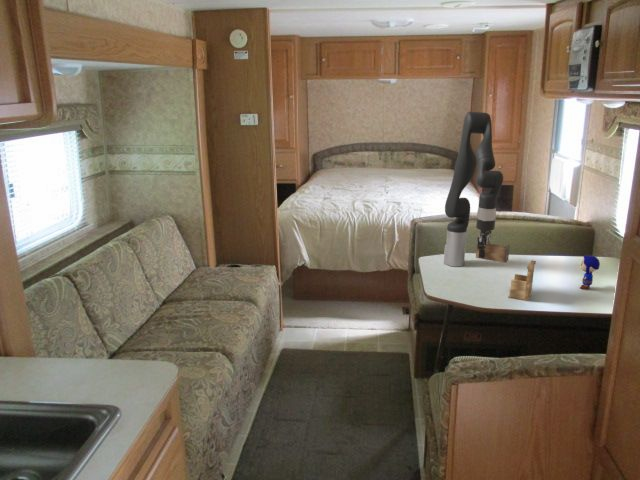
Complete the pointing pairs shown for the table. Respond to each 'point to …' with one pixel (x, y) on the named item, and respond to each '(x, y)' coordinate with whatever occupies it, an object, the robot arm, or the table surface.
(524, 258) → the table surface
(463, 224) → the robot arm
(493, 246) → the light brown wooden block
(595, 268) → the toy
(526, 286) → the wooden chair
